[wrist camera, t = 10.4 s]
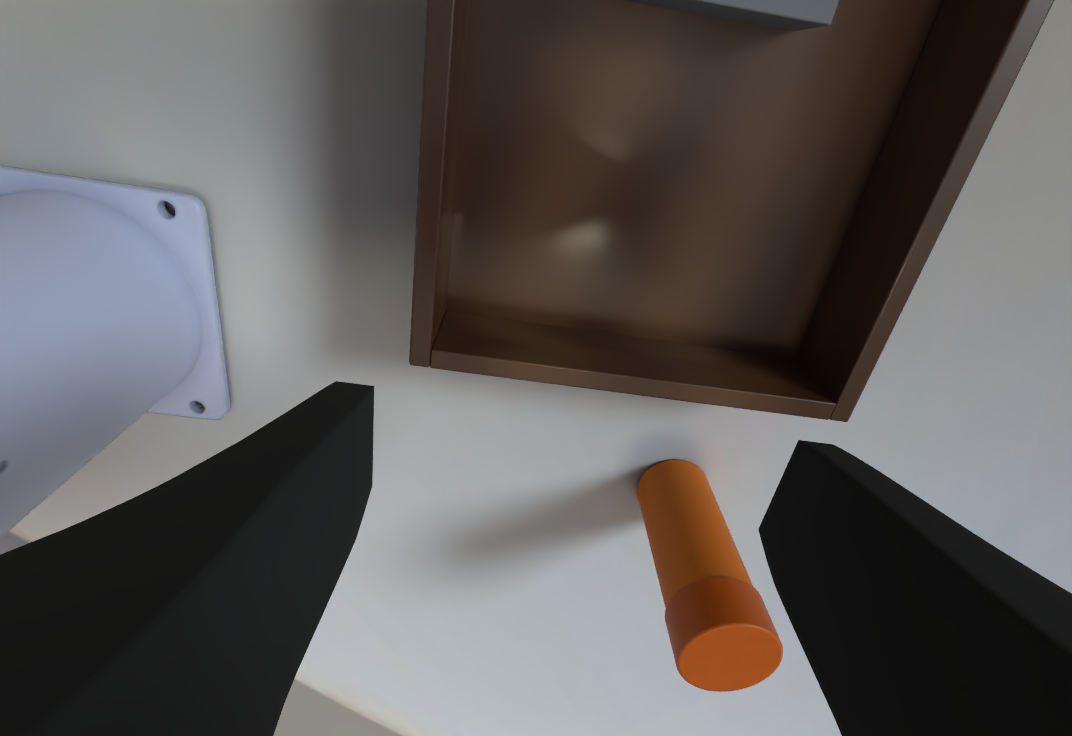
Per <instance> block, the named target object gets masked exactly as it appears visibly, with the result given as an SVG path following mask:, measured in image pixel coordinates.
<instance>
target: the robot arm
mask: <svg viewBox="0 0 1072 736" xmlns="http://www.w3.org/2000/svg"><path fill="white" fill-rule="evenodd" d="M165 202H169V203H170V204H171V205H172V206H173V207H174V209H175V211H176V213H175V216H174V215H171V214H170V213H169V212H168V211H167V210H166V208H165ZM196 401H198V402H200V403H201V404H203V405H204V408H203V407H200V406H199V405H197V403H196ZM230 406H231V405H230V397H229V389H228V381H227V373H226V364H225V356H224V348H223V340H222V332H221V324H220V316H219V307H218V299H217V291H216V283H215V275H214V267H213V258H212V250H211V242H210V234H209V226H208V218H207V211H206V208H205V206H204V204H203V203H202V202H201V200H200V199H198V198H197V197H196V196H194V195H191V194H188V193H181V192H175V191H168V190H161V189H154V188H148V187H141V186H134V185H127V184H121V183H114V182H107V181H101V180H94V179H87V178H80V177H74V176H67V175H60V174H53V173H47V172H40V171H33V170H26V169H20V168H13V167H6V166H0V538H1V537H2V536H3V535H4V534H5V533H7V532H8V531H9V530H10V529H11V528H12V527H14V526H15V525H16V524H17V523H18V522H19V521H21V520H22V519H23V518H24V517H25V516H26V515H27V514H29V513H30V512H31V511H32V510H33V509H34V508H36V507H37V506H38V505H39V504H40V503H41V502H42V501H44V500H45V499H46V498H47V497H48V496H49V495H51V494H52V493H53V492H54V491H55V490H56V489H58V488H59V487H60V486H61V485H62V484H63V483H64V482H66V481H67V480H68V479H69V478H70V477H71V476H73V475H74V474H75V473H76V472H77V471H78V470H80V469H81V468H82V467H83V466H84V465H85V464H86V463H88V462H89V461H90V460H91V459H92V458H93V457H95V456H96V455H97V454H98V453H99V452H100V451H101V450H103V449H104V448H105V447H106V446H107V445H108V444H110V443H111V442H112V441H113V440H114V439H115V438H117V437H118V436H119V435H120V434H121V433H122V432H123V431H125V430H126V429H127V428H128V427H129V426H130V425H132V424H133V423H134V422H135V421H136V420H137V419H139V418H140V417H141V416H142V415H143V414H144V413H145V412H151V413H160V414H168V415H176V416H185V417H193V418H201V419H210V420H220V419H222V418H224V417H225V416H226V414H227V413H228V412H229V411H230ZM373 415H374V386H368V385H361V384H353V383H345V382H337V381H336V382H334V383H332V384H331V385H329V386H327V387H325V388H324V389H322V390H321V391H319V392H317V393H316V394H314V395H313V396H311V397H310V398H308V399H306V400H305V401H303V402H302V403H300V404H299V405H297V406H296V407H294V408H292V409H291V410H289V411H288V412H286V413H285V414H283V415H281V416H280V417H278V418H277V419H275V420H273V421H272V422H270V423H269V424H267V425H265V426H264V427H262V428H260V429H259V430H257V431H256V432H254V433H252V434H251V435H249V436H248V437H246V438H244V439H243V440H241V441H239V442H238V443H236V444H234V445H232V446H230V447H229V448H227V449H225V450H223V451H221V452H220V453H218V454H216V455H214V456H212V457H211V458H209V459H207V460H205V461H203V462H202V463H200V464H198V465H196V466H194V467H193V468H191V469H189V470H187V471H185V472H184V473H182V474H180V475H178V476H177V477H175V478H173V479H171V480H169V481H167V482H165V483H163V484H161V485H159V486H157V487H155V488H153V489H151V490H149V491H147V492H145V493H143V494H141V495H139V496H137V497H135V498H133V499H131V500H128V501H126V502H124V503H122V504H120V505H117V506H115V507H113V508H111V509H109V510H107V511H104V512H102V513H100V514H98V515H96V516H93V517H91V518H89V519H87V520H85V521H82V522H80V523H78V524H76V525H73V526H71V527H69V528H66V529H64V530H61V531H59V532H56V533H54V534H51V535H49V536H46V537H44V538H41V539H39V540H36V541H34V542H31V543H29V544H26V545H24V546H21V547H19V548H16V549H14V550H11V551H8V552H6V553H4V554H1V555H0V736H273V735H274V732H275V729H276V726H277V722H278V720H279V717H280V714H281V711H282V708H283V706H284V703H285V700H286V698H287V695H288V693H289V690H290V688H291V685H292V683H293V680H294V678H295V675H296V673H297V670H298V668H299V666H300V664H301V661H302V659H303V657H304V655H305V653H306V650H307V648H308V646H309V644H310V641H311V639H312V637H313V635H314V632H315V630H316V628H317V626H318V624H319V621H320V619H321V617H322V615H323V612H324V610H325V608H326V606H327V603H328V601H329V599H330V597H331V595H332V592H333V590H334V588H335V586H336V583H337V581H338V579H339V577H340V574H341V572H342V570H343V568H344V565H345V563H346V561H347V558H348V556H349V554H350V552H351V549H352V547H353V545H354V542H355V540H356V537H357V534H358V531H359V528H360V524H361V521H362V518H363V515H364V512H365V508H366V505H367V501H368V498H369V495H370V491H371V488H372V471H373ZM759 533H760V537H761V540H762V544H763V548H764V551H765V555H766V559H767V562H768V565H769V568H770V572H771V575H772V578H773V581H774V584H775V587H776V589H777V591H778V594H779V596H780V598H781V601H782V603H783V605H784V607H785V610H786V612H787V614H788V616H789V619H790V621H791V623H792V625H793V628H794V630H795V632H796V634H797V637H798V639H799V641H800V643H801V645H802V648H803V650H804V652H805V654H806V656H807V658H808V661H809V663H810V665H811V667H812V669H813V672H814V674H815V676H816V678H817V680H818V683H819V685H820V687H821V689H822V691H823V694H824V696H825V698H826V700H827V702H828V705H829V707H830V709H831V711H832V713H833V716H834V718H835V720H836V723H837V725H838V727H839V730H840V732H841V735H842V736H1072V593H1070V592H1068V591H1066V590H1065V589H1063V588H1061V587H1059V586H1058V585H1056V584H1054V583H1053V582H1051V581H1049V580H1048V579H1046V578H1045V577H1043V576H1041V575H1040V574H1038V573H1036V572H1035V571H1033V570H1031V569H1030V568H1028V567H1027V566H1025V565H1023V564H1022V563H1020V562H1018V561H1017V560H1015V559H1013V558H1012V557H1010V556H1009V555H1007V554H1005V553H1004V552H1002V551H1000V550H999V549H997V548H996V547H994V546H993V545H991V544H989V543H988V542H986V541H985V540H983V539H982V538H980V537H978V536H977V535H975V534H974V533H972V532H971V531H969V530H968V529H966V528H965V527H963V526H961V525H960V524H958V523H957V522H955V521H954V520H952V519H951V518H949V517H948V516H946V515H945V514H943V513H942V512H940V511H939V510H937V509H936V508H934V507H933V506H931V505H930V504H928V503H926V502H925V501H923V500H922V499H920V498H919V497H917V496H916V495H914V494H913V493H911V492H910V491H908V490H907V489H905V488H904V487H902V486H901V485H899V484H898V483H896V482H895V481H893V480H892V479H890V478H889V477H887V476H885V475H884V474H882V473H881V472H879V471H878V470H876V469H874V468H873V467H871V466H870V465H868V464H866V463H865V462H863V461H862V460H860V459H858V458H857V457H855V456H853V455H851V454H850V453H848V452H846V451H844V450H842V449H840V448H838V447H837V446H835V445H832V444H824V443H817V442H809V441H801V440H799V441H798V443H797V445H796V447H795V449H794V452H793V454H792V456H791V458H790V461H789V463H788V465H787V467H786V469H785V472H784V474H783V476H782V478H781V481H780V483H779V485H778V487H777V489H776V492H775V494H774V496H773V498H772V501H771V503H770V505H769V507H768V509H767V512H766V514H765V516H764V518H763V521H762V523H761V525H760V527H759Z"/></svg>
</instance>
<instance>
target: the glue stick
mask: <svg viewBox="0 0 1072 736" xmlns="http://www.w3.org/2000/svg"><path fill="white" fill-rule="evenodd" d="M637 494H638V499H639V503H640V507H641V511H642V515H643V519H644V523H645V527H646V531H647V535H648V539H649V543H650V547H651V551H652V555H653V559H654V563H655V567H656V571H657V575H658V579H659V583H660V587H661V591H662V595H663V599H664V603H665V607H666V611H665V621H666V625H667V629H668V633H669V637H670V642H671V646H672V650H673V654H674V658H675V662H676V666H677V669H678V671H679V673H680V675H681V676H682V677H683V678H684V679H685V680H686V681H687V682H688V683H690V684H691V685H693V686H695V687H698V688H701V689H704V690H709V691H720V692H721V691H734V690H740V689H743V688H747V687H750V686H753V685H755V684H757V683H759V682H761V681H763V680H764V679H766V678H767V677H769V676H770V675H771V674H772V673H773V672H774V671H775V670H776V669H777V667H778V666H779V664H780V662H781V659H782V654H783V648H782V644H781V641H780V639H779V636H778V634H777V632H776V630H775V627H774V625H773V623H772V620H771V618H770V616H769V614H768V611H767V609H766V607H765V604H764V602H763V600H762V598H761V595H760V594H759V592H758V591H757V590H756V589H755V588H754V587H753V585H752V583H751V581H750V578H749V576H748V574H747V571H746V569H745V567H744V564H743V562H742V560H741V557H740V555H739V553H738V550H737V548H736V546H735V543H734V541H733V539H732V536H731V534H730V532H729V529H728V527H727V525H726V522H725V520H724V518H723V515H722V513H721V511H720V508H719V506H718V504H717V501H716V499H715V497H714V494H713V492H712V490H711V488H710V485H709V483H708V481H707V478H706V476H705V474H704V472H703V471H702V470H701V469H700V468H699V467H698V466H696V465H694V464H693V463H690V462H688V461H683V460H668V461H664V462H661V463H658V464H656V465H654V466H652V467H651V468H650V469H648V470H647V471H646V472H645V473H644V474H643V476H642V477H641V479H640V481H639V483H638V487H637Z"/></svg>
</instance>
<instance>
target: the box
mask: <svg viewBox="0 0 1072 736" xmlns="http://www.w3.org/2000/svg"><path fill="white" fill-rule="evenodd" d="M1053 2H1054V0H839V1H838V4H837V7H836V10H835V13H834V16H833V19H832V22H831V24H830V25H828V26H822V27H816V28H811V29H805V30H799V31H789V30H784V29H778V28H773V27H767V26H762V25H756V24H751V23H745V22H740V21H735V20H729V19H724V18H718V17H713V16H707V15H702V14H696V13H691V12H685V11H680V10H674V9H669V8H664V7H658V6H653V5H647V4H642V3H636V2H631V1H625V0H428V1H427V21H426V40H425V60H424V80H423V100H422V120H421V139H420V159H419V179H418V199H417V218H416V238H415V258H414V278H413V298H412V317H411V337H410V357H409V363H410V365H415V366H422V367H429V366H430V367H431V368H435V369H443V370H451V371H458V372H466V373H474V374H481V375H489V376H497V377H504V378H512V379H520V380H527V381H535V382H543V383H550V384H558V385H566V386H573V387H581V388H589V389H596V390H604V391H612V392H619V393H627V394H635V395H642V396H650V397H658V398H665V399H673V400H681V401H688V402H696V403H704V404H711V405H719V406H727V407H734V408H742V409H750V410H757V411H765V412H772V413H780V414H788V415H795V416H803V417H811V418H818V419H826V420H828V419H830V420H835V421H843V422H847V421H848V420H849V418H850V416H851V414H852V412H853V410H854V408H855V406H856V404H857V402H858V399H859V397H860V395H861V393H862V391H863V389H864V387H865V385H866V383H867V381H868V379H869V377H870V375H871V373H872V371H873V369H874V367H875V365H876V363H877V361H878V359H879V357H880V355H881V353H882V351H883V349H884V346H885V344H886V342H887V340H888V338H889V336H890V334H891V332H892V330H893V328H894V326H895V324H896V322H897V320H898V318H899V316H900V314H901V312H902V310H903V308H904V306H905V304H906V302H907V300H908V298H909V296H910V293H911V291H912V289H913V287H914V285H915V283H916V281H917V279H918V277H919V275H920V273H921V271H922V269H923V267H924V265H925V263H926V261H927V259H928V257H929V255H930V253H931V251H932V249H933V247H934V245H935V242H936V240H937V238H938V236H939V234H940V232H941V230H942V228H943V226H944V224H945V222H946V220H947V218H948V216H949V214H950V212H951V210H952V208H953V206H954V204H955V202H956V200H957V198H958V196H959V194H960V192H961V189H962V187H963V185H964V183H965V181H966V179H967V177H968V175H969V173H970V171H971V169H972V167H973V165H974V163H975V161H976V159H977V157H978V155H979V153H980V151H981V149H982V147H983V145H984V143H985V141H986V139H987V136H988V134H989V132H990V130H991V128H992V126H993V124H994V122H995V120H996V118H997V116H998V114H999V112H1000V110H1001V108H1002V106H1003V104H1004V102H1005V100H1006V98H1007V96H1008V94H1009V92H1010V90H1011V88H1012V85H1013V83H1014V81H1015V79H1016V77H1017V75H1018V73H1019V71H1020V69H1021V67H1022V65H1023V63H1024V61H1025V59H1026V57H1027V55H1028V53H1029V51H1030V49H1031V47H1032V45H1033V43H1034V41H1035V39H1036V37H1037V35H1038V32H1039V30H1040V28H1041V26H1042V24H1043V22H1044V20H1045V18H1046V16H1047V14H1048V12H1049V10H1050V8H1051V6H1052V4H1053Z"/></svg>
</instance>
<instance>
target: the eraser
mask: <svg viewBox="0 0 1072 736" xmlns="http://www.w3.org/2000/svg"><path fill="white" fill-rule="evenodd" d="M625 1H631V2H636V3H642V4H647V5H653V6H658V7H664V8H669V9H674V10H680V11H685V12H691V13H696V14H702V15H707V16H713V17H718V18H724V19H729V20H735V21H740V22H745V23H751V24H756V25H762V26H767V27H773V28H778V29H784V30H789V31H799V30H805V29H811V28H816V27H822V26H828V25H830V24H831V22H832V19H833V16H834V13H835V10H836V7H837V4H838V1H839V0H625Z"/></svg>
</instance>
